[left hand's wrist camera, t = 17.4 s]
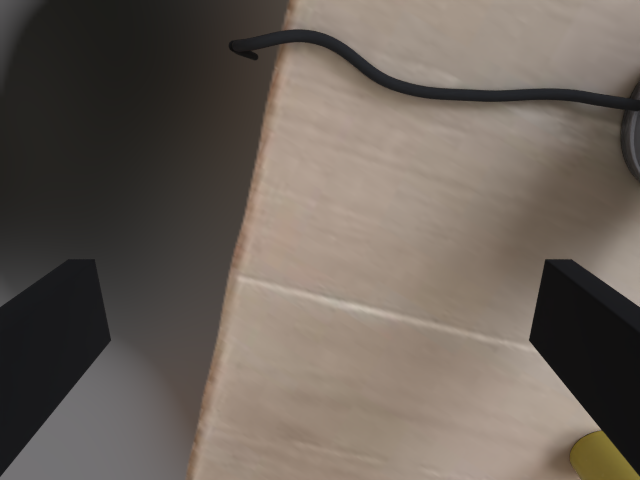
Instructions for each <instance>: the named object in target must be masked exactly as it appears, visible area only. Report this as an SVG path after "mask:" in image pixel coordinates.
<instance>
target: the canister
mask: <svg viewBox="0 0 640 480" xmlns="http://www.w3.org/2000/svg"><path fill="white" fill-rule="evenodd" d="M570 462H571V465H572V467H573V468H574V470H575V471H576V473H577V474H578V476H579V477H580V479H581V480H640V476H639V475H638V474H637V473H636V472H635V470H634V469H633V468H632V467H631V465H630V464H629V463H628V462H627V460H626V459H625V458H624V457H623V456H622V454H621V453H620V452H619V451H618V449H617V448H616V447H615V446H614V444H613V443H612V442H611V441H610V440H609V438H608V437H607V436H606V435H605V433H604V432H603V431H597V432H593V433H591V434H588V435H586V436H585V437H583V438H581V439H580V440H579V441H578V442H577V443H576V444H575V445H574V447H573V448H572V450H571V453H570Z"/></svg>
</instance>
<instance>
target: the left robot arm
mask: <svg viewBox="0 0 640 480" xmlns="http://www.w3.org/2000/svg"><path fill="white" fill-rule="evenodd" d="M290 42H307V43H313V44H317V45H320V46H323V47H326V48H328V49H330V50H332V51H334V52H336V53H337V54H339V55H340V56H342V57H343V58H344V59H346V60H347V61H348V62H350V63H351V64H352V65H353V66H355V67H356V68H357V69H358V70H359V71H361V72H362V73H363V74H364V75H366V76H367V77H369V78H370V79H372V80H373V81H375V82H376V83H378V84H380V85H382V86H384V87H386V88H389V89H391V90H394V91H397V92H400V93H404V94H407V95H412V96H416V97H422V98H429V99H440V100H461V101H483V102H502V101H522V100H565V101H574V102H580V103H586V104H591V105H597V106H603V107H610V108H617V109H624V110H625V113H624V117H623V121H622V128H621V146H622V152H623V156H624V159H625V162H626V164H627V166H628V168H629V170H630V171H631V173H632V174H633V175H634V177H635V178H636V179H637V180H638V181H639V182H640V81H639V83H638V84H637V86H636V88H635V89H634V91H633V93H632V95H631V97H630V98H623V97H616V96H609V95H603V94H597V93H591V92H585V91H579V90H570V89H522V90H501V91H489V90H467V89H445V88H433V87H426V86H420V85H415V84H411V83H407V82H404V81H401V80H397V79H395V78H392V77H390V76H388V75H386V74H384V73H382V72H381V71H379V70H378V69H376V68H375V67H373V66H372V65H371V64H369V63H368V62H367V61H366V60H365V59H363V58H362V57H361V56H360V55H359V54H357V53H356V52H355V51H354V50H352V49H351V48H350V47H348V46H347V45H345V44H344V43H342V42H341V41H339V40H337V39H335V38H333V37H331V36H329V35H326V34H323V33H320V32H316V31H311V30H285V31H279V32H275V33H270V34H266V35H262V36H257V37H253V38H248V39H241V40H232V41H231V42H229V49H230V50H231V51H232V52H234V53H235V54H237V55H240V56H243V57H246V58H249V59H252V60H257V59H258V55H257V54H256V53H254V52H252V51H251V50H257V49H261V48H265V47H269V46H274V45H278V44H283V43H290ZM110 341H111V338H110V333H109V328H108V323H107V318H106V313H105V308H104V303H103V298H102V293H101V288H100V283H99V279H98V274H97V269H96V264H95V260H94V259H68V260H67V261H66V262H64V263H63V264H61V265H60V266H58V267H57V268H55V269H54V270H53V271H51V272H50V273H48V274H47V275H45V276H44V277H43V278H41V279H40V280H38V281H37V282H36V283H34V284H33V285H31V286H30V287H28V288H27V289H26V290H24V291H23V292H21V293H20V294H18V295H17V296H16V297H14V298H13V299H11V300H10V301H8V302H7V303H6V304H4V305H3V306H1V307H0V476H1V475H2V474H3V473H4V471H5V470H6V469H7V468H8V467H9V465H10V464H11V463H12V462H13V460H14V459H15V458H16V457H17V456H18V454H19V453H20V452H21V451H22V449H23V448H24V447H25V446H26V444H27V443H28V442H29V441H30V439H31V438H32V437H33V436H34V435H35V433H36V432H37V431H38V430H39V428H40V427H41V426H42V425H43V423H44V422H45V421H46V420H47V418H48V417H49V416H50V415H51V414H52V412H53V411H54V410H55V409H56V407H57V406H58V405H59V404H60V403H61V401H62V400H63V399H64V398H65V396H66V395H67V394H68V393H69V391H70V390H71V389H72V388H73V387H74V385H75V384H76V383H77V382H78V380H79V379H80V378H81V377H82V375H83V374H84V373H85V372H86V370H87V369H88V368H89V367H90V366H91V364H92V363H93V362H94V361H95V359H96V358H97V357H98V356H99V354H100V353H101V352H102V351H103V350H104V348H105V347H106V346H107V345H108V343H109V342H110ZM529 341H530V342H531V343H532V345H533V346H534V347H535V348H536V350H537V351H538V352H539V353H540V354H541V356H542V357H543V358H544V359H545V361H546V362H547V363H548V364H549V366H550V367H551V368H552V369H553V371H554V372H555V373H556V374H557V375H558V377H559V378H560V379H561V380H562V382H563V383H564V384H565V385H566V387H567V388H568V389H569V390H570V391H571V393H572V394H573V395H574V396H575V398H576V399H577V400H578V401H579V403H580V404H581V405H582V406H583V407H584V409H585V410H586V411H587V412H588V414H589V415H590V416H591V417H592V419H593V420H594V421H595V422H596V423H597V425H598V426H599V427H600V428H601V430H602V431H603V432H604V433H605V435H606V436H607V437H608V438H609V440H610V441H611V442H612V443H613V444H614V446H615V447H616V448H617V449H618V451H619V452H620V453H621V454H622V456H623V457H624V458H625V459H626V460H627V462H628V463H629V464H630V465H631V467H632V468H633V469H634V470H635V472H636V473H637V474H638V475H639V476H640V307H639V306H637V305H636V304H634V303H633V302H632V301H630V300H629V299H627V298H626V297H624V296H623V295H622V294H620V293H619V292H617V291H616V290H614V289H613V288H612V287H610V286H609V285H607V284H606V283H605V282H603V281H602V280H600V279H599V278H597V277H596V276H595V275H593V274H592V273H590V272H589V271H587V270H586V269H585V268H583V267H582V266H580V265H579V264H577V263H576V262H575V261H573V260H572V259H545V264H544V269H543V273H542V278H541V283H540V288H539V293H538V298H537V303H536V308H535V313H534V318H533V323H532V328H531V333H530V338H529Z"/></svg>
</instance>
